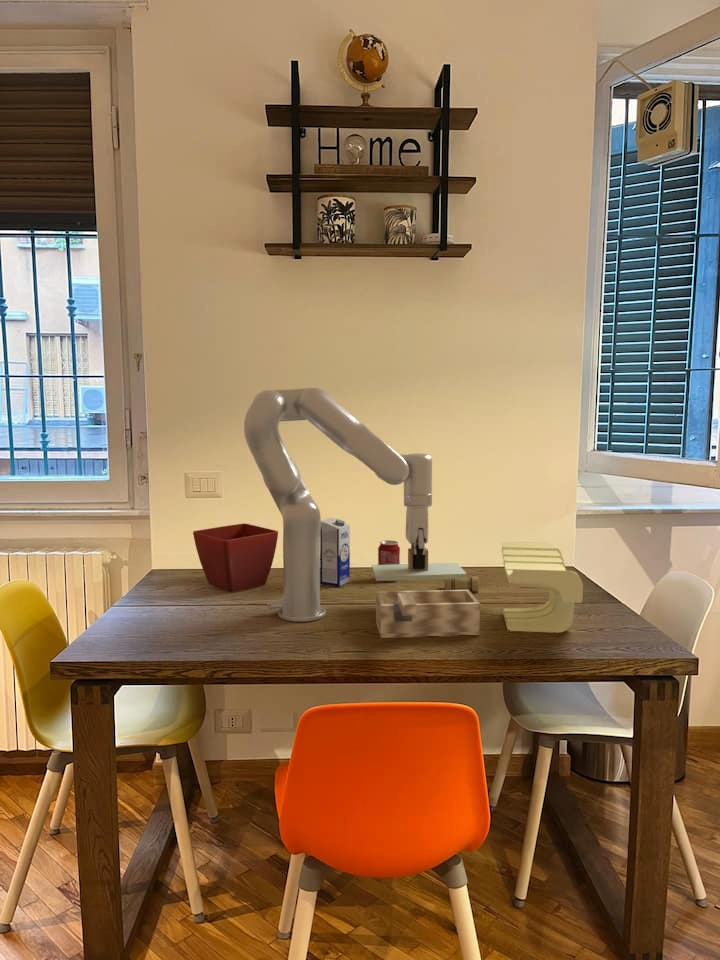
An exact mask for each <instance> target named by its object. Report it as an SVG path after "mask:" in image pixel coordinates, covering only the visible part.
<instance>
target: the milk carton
mask: <svg viewBox="0 0 720 960" xmlns="http://www.w3.org/2000/svg"><path fill="white" fill-rule="evenodd" d="M350 526H351V524H349V523H346V522H345V521H344V520H342V519H338V518H333V517H328V518H324V519H321V527H320V584H322V585H321V586H326V585H329V586H328V587H333V586H335V588H340V587H342V586H344V584H345V585H347V584H349V583H350V580H351V576H350V575H351V573H350V571H351V570H350V568H351V567H350V566H351V564H350V563H351V559H350V558H351V555H350V554H351V552H350V551H351V549H350V548H351V545H350V543H351V542H350V541H351V540H350V539H351V537H350V536H351V535H350V534H351V530H350V529H351V527H350ZM348 582H349V583H348ZM346 583H347V584H346Z"/></svg>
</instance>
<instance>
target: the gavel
mask: <svg viewBox="0 0 720 960" xmlns="http://www.w3.org/2000/svg"><path fill="white" fill-rule="evenodd" d="M479 578H480V577H479V576H471V577H468V576H467V578H459V579H444V589H443V590H469V591H471V593H472V592H473V593H475V592H476V593H478V592H479V589H480V587H479V586H480V582H479Z"/></svg>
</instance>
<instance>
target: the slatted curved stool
mask: <svg viewBox="0 0 720 960" xmlns="http://www.w3.org/2000/svg"><path fill="white" fill-rule="evenodd" d="M501 553H502V559H503V566H504V572H505V575H506V577H507V581H508V583H509V584H519V585H520V584H521V585H530V586H537V587H541V588H543V589H546V590H548V591H549V592H548V593H549V598H548V600H547V602H546V603H545V604H543V605H540V606H539V605H538V606H535V607H526V608H503V609H502V610H503V611H502V615H504V616H503V618H505V619H504V622H506V623H505V625H506V629H508V630H510V631H509V632H531V633H532V632H535V633H537V632H538V633H554V632H555V633H558V634H559V633H563V632H565V631H567V630H569V628H570V626H571V625H572V623H573V622H574V612H575V603H577V604H578V603H579V604H583V597H584V596H583V595H584V594H583V591H584V584H583V580H582V579H581V577H580V576H579V574H578V573H577V572H575V571H572V570H567V569H566V565H565V563H564V558H563V555H562V552H561V550H560V549H559V547H558V546H557V545H555V544H553V543H551V542H530V541H529V542H522V541H521V542H520V541H519V542H518V541H501ZM508 630H507V631H508Z"/></svg>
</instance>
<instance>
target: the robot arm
mask: <svg viewBox="0 0 720 960" xmlns="http://www.w3.org/2000/svg"><path fill="white" fill-rule="evenodd" d="M306 420H307V421H308V422H309V423H311V424H312V425H313V426H314V427H315V428H316V429H318V430H319V431H320V432H321V433H323V435H324V436H326V437H327V438H328V439H329V440H330V441H332V442H333V443H335V444H336V446H338V447H339V448H340V449H341V450H343V451H345V452H346V453H348V454H349V455H351V456H353V457H354V458H356V459H357V460H358V461H360V462H361V463H362V464H364V465H365V466H366V467H368V468H369V469H370V470H371V471H372V472H374V474H375V475H376V477H377V478H378V479H380V480H381V481H383V482H385V483H386V484H388V485H391V486H397V485H401V484H402V483H403V506H404V507H406V512H405V539H406V541H407V542H408V543H409V544H410V548H414V554H413V569H425V548H426V547H425V544H428V542H429V507H430V508H431V507H432V505H433V459H432V458H433V457H432V456H431V455H430V454H427V453H408V454H403V453H401V454H399V453H398V452H396V451H395V450H394V449H393V448H392V447H391V446H389V445H388V444H387V443H385V441H383V440H382V439H381V438H380V437H378V436H377V435H376V434H375V433H374V432H373V431H372V430H370V429H369V427H367V426H366V425H365V424H364V423H362V422H361V420H359V419H358V418H357V417H355V416H354V415H353V414H352V413H351V412H350V411H348V410H347V409H346V408H345V407H344V406H343V405H341V403H339V402H338V401H336V399H334V398H333V397H332V396H331V395H330V394H328V392H326V391H325V390H323V389H322V388H319V387H308V388H296V389H295V388H294V389H291V388H290V389H266V390H262V391H260V392H258V393H257V394H256V395H255V396H254V398H253V400H252V402H251V404H250V406H249V408H248V410H247V412H246V414H245V418H244V422H243V433H244V439H245V441H246V444H247V446H248V449H249V450H250V453H251V455H252V457H253V459H254V461H255V464H256V465H257V467H258V470H259V471H260V474H261V475H262V479H263V482H264V485H265V486H266V488H267V489H268V491H269V493H270V495H271V497H272V499H273V501H274V503H275V505H276V507H277V509H278V511H279V513H280V515H281V516H282V521H283V522H282V524H283V525H282V526H283V527H282V528H283V532H282V533H283V534H282V537H283V538H282V542H283V543H282V553H283V555H282V557H283V558H282V559H283V595H282V598H278V599H266V607H267V608H270V609H271V610H272V609H273V610H274V609H275V610H276V609H278V611H277V615H278V617H279V619H283V620H284V621H288V622H289V621H290V622H296V623H297V622H313V621H317V620H320V619H322V618H324V617H325V616H326V615H327V611H326V608H325V607H324V606H322V605H321V585H320V527H321V520H322V517H321V512H320V509H319V506H318V504H317V503H316V502H315V500H314V499H313V497H312V496H311V494H310V491H309V489H308V488H307V485H306V483H305V481H304V479H303V477H302V475H301V474H300V470H299V468H298V466H297V465H296V463H295V462H294V461H293V459H292V457H291V456H290V454H289V452H288V450H287V447H286V445H285V443H284V441H283V438H282V437H281V435H280V432H279V424H280V422H293V421H294V422H295V421H306Z"/></svg>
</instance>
